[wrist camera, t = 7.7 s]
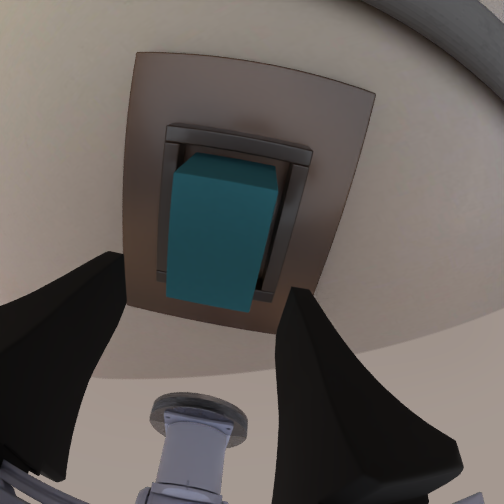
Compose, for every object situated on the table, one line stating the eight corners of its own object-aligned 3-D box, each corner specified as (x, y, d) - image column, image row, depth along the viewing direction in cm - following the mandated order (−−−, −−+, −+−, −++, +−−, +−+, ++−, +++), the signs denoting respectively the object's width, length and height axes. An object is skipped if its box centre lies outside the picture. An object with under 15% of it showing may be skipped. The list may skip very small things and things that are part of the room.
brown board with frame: (295, 328, 21) (297, 350, 19) (131, 296, 20) (120, 316, 18) (370, 93, 13) (385, 93, 11) (143, 53, 12) (125, 49, 10)
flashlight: (225, -38, 10) (249, -102, 6) (553, 166, 14) (583, 131, 10) (191, -37, 8) (221, -122, 4) (578, 210, 11) (614, 172, 7)
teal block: (252, 267, 17) (249, 313, 14) (184, 254, 17) (165, 297, 14) (275, 165, 14) (278, 190, 11) (196, 151, 14) (173, 171, 11)
